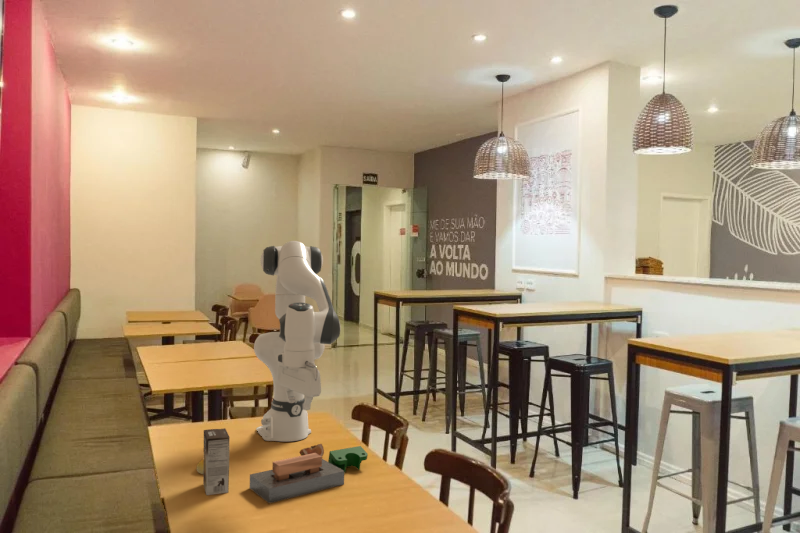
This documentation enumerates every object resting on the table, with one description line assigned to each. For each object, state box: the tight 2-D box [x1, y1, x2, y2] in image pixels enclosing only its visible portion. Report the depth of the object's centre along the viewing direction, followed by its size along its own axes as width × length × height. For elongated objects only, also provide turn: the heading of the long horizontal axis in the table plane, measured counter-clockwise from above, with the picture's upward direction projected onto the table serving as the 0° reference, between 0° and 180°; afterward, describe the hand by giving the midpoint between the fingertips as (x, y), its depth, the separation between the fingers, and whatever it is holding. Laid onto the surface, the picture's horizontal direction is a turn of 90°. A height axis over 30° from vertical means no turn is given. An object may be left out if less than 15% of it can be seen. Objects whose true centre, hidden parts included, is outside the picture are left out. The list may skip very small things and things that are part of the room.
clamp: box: [327, 445, 369, 474], centre depth 192 cm, size 12×6×9 cm, turn 116°
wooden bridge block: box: [271, 453, 323, 481], centre depth 177 cm, size 4×14×8 cm, turn 128°
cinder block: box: [249, 458, 345, 504], centre depth 176 cm, size 13×24×4 cm, turn 128°
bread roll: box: [196, 458, 204, 475], centre depth 188 cm, size 8×9×4 cm
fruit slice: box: [299, 443, 325, 457], centre depth 198 cm, size 8×7×5 cm
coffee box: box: [202, 428, 230, 496], centre depth 174 cm, size 9×6×16 cm
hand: (298, 406), depth 176 cm, fingers open, 8 cm apart
